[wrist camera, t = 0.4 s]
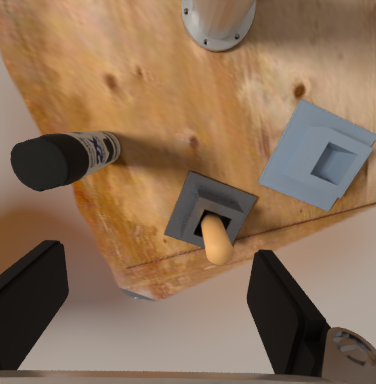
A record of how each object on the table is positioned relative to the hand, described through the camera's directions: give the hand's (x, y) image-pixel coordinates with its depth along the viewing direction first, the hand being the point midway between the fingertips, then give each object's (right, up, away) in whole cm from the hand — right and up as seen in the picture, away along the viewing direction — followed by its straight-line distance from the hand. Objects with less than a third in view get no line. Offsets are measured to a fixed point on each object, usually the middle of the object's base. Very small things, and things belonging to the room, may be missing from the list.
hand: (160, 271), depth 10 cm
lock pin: (+6, -2, +36) cm, 36 cm away
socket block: (+28, +11, +34) cm, 45 cm away
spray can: (-16, +13, +32) cm, 38 cm away
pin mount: (+6, -1, +37) cm, 37 cm away
